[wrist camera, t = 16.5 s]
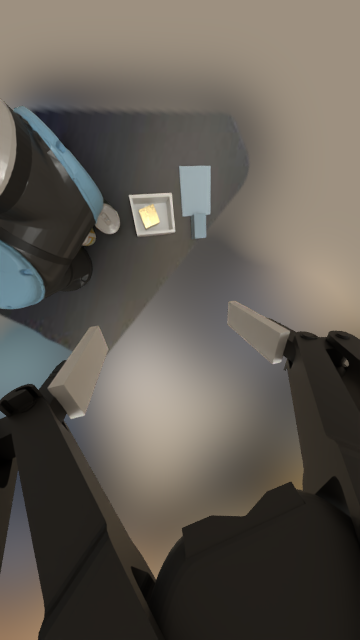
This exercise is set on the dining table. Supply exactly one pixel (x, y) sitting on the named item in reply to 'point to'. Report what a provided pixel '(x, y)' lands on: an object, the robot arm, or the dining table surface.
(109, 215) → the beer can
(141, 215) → the brass part
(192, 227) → the lid
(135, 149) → the dining table surface
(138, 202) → the tub
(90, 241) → the supplement bottle
